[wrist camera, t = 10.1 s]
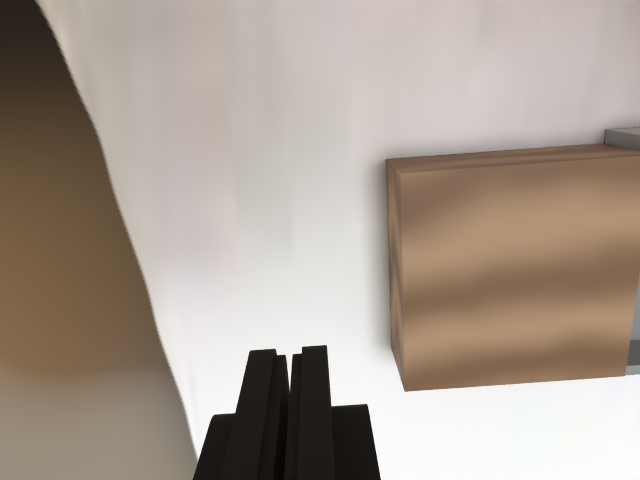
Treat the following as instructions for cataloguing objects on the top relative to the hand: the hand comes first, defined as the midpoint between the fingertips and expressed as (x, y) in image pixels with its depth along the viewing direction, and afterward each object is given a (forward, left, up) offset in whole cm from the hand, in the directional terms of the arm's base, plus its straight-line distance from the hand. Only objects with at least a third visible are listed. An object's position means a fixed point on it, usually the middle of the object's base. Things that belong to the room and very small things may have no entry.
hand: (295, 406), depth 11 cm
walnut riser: (+7, +14, -27) cm, 31 cm away
